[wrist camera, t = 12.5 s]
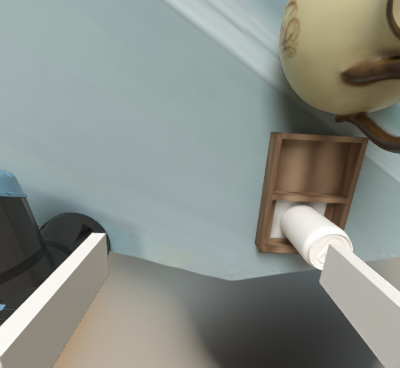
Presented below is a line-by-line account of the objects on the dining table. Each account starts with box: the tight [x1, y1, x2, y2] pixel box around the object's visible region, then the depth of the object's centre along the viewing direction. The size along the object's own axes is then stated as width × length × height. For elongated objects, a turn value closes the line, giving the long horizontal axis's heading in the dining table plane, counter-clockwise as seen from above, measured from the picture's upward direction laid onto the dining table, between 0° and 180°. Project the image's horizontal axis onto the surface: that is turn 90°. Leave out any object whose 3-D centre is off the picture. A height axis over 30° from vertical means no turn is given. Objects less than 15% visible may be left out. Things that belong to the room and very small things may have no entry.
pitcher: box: [279, 0, 400, 154], centre depth 26 cm, size 22×24×25 cm
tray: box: [255, 132, 369, 254], centre depth 43 cm, size 17×25×4 cm
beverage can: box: [280, 205, 353, 270], centre depth 40 cm, size 8×8×12 cm
